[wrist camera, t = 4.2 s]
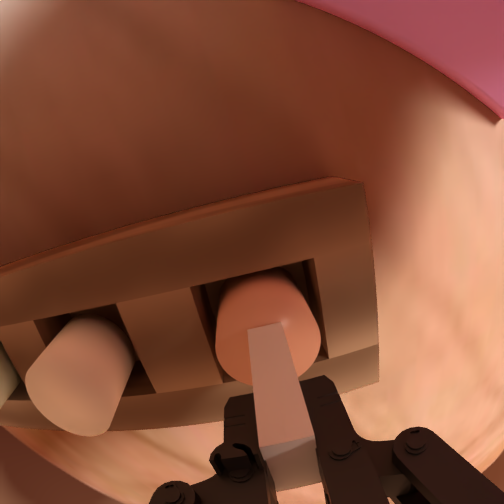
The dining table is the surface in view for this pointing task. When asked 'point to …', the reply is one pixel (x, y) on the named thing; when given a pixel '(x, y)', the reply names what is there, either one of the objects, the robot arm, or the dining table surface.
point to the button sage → (7, 376)
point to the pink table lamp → (439, 37)
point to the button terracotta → (263, 320)
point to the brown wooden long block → (199, 297)
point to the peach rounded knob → (82, 375)
